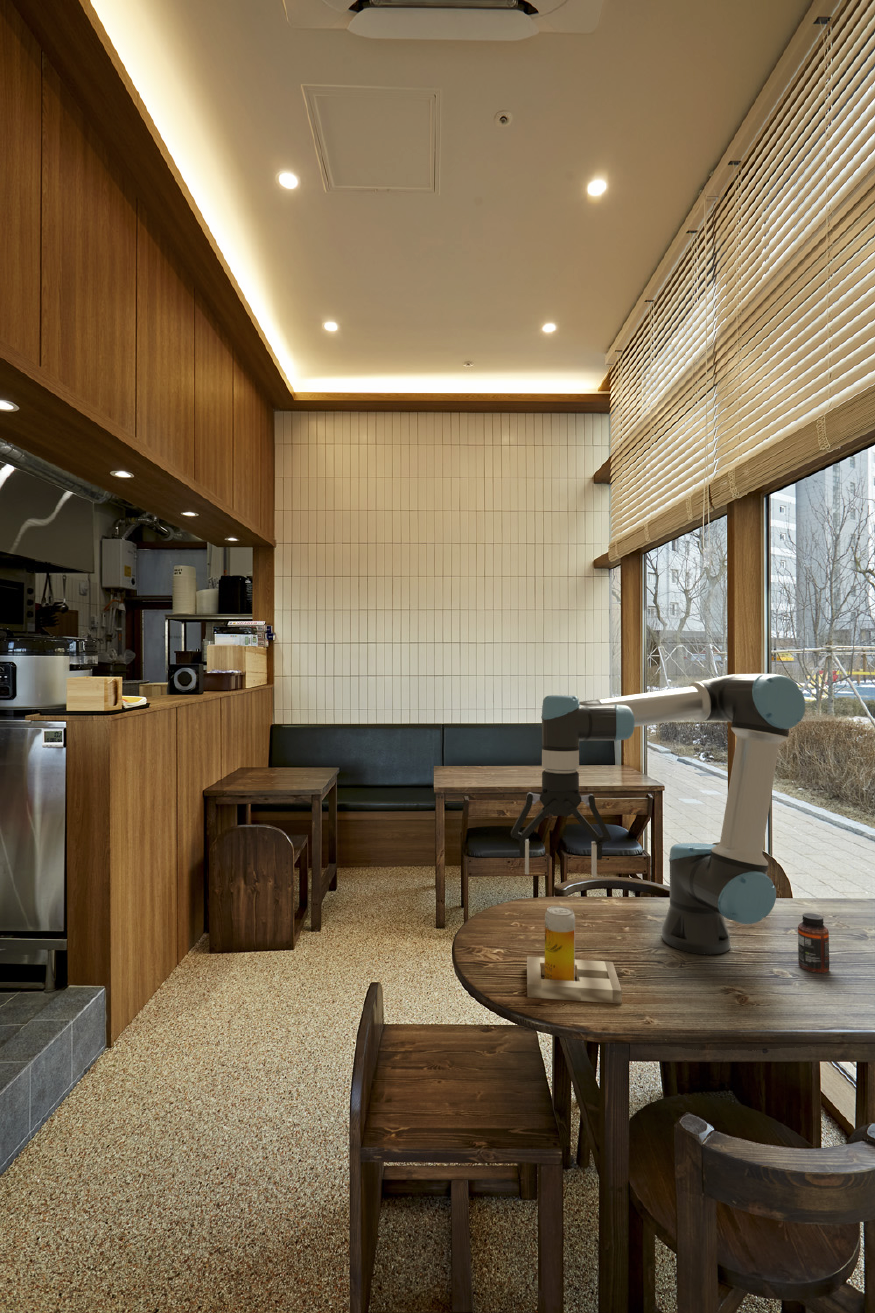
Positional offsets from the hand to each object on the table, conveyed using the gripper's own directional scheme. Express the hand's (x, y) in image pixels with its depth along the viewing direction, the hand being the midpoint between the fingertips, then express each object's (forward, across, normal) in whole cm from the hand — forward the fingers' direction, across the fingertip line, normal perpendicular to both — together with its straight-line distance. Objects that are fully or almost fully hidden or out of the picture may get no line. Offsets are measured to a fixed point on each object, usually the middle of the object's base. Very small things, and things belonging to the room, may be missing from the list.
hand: (560, 874), depth 137 cm
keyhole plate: (+22, -2, 0) cm, 22 cm away
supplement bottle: (+23, -55, -16) cm, 62 cm away
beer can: (+22, 0, 0) cm, 23 cm away
